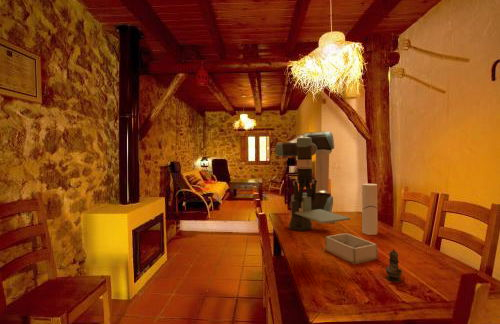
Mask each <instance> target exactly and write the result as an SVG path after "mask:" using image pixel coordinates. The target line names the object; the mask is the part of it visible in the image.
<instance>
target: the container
mask: <svg viewBox="0 0 500 324" xmlns="http://www.w3.org/2000/svg"><path fill="white" fill-rule="evenodd" d="M361 207H362V208H361V212H362V213H361V215H362V217H361V221H362V223H361V225H362V227H361V229H362V234H364V235H367V236H377V235H378V231H379V230H378V183H362V184H361Z"/></svg>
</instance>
